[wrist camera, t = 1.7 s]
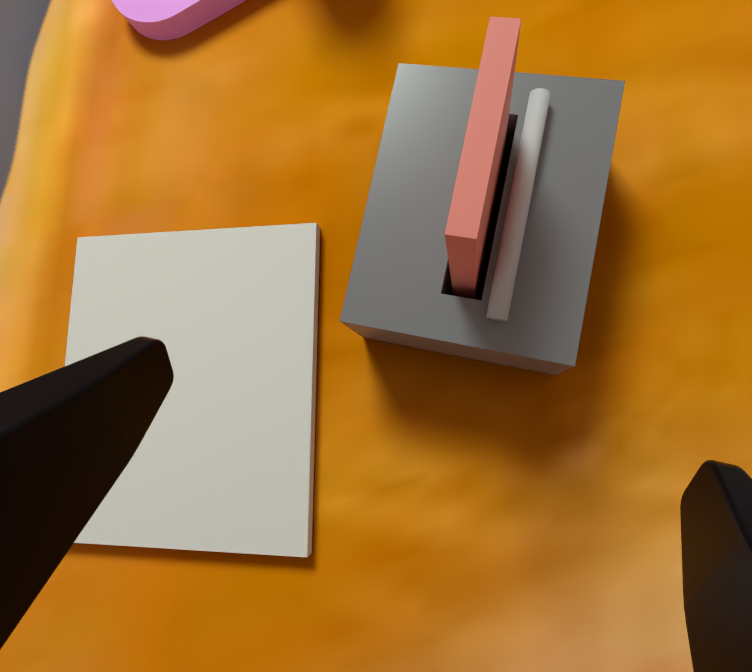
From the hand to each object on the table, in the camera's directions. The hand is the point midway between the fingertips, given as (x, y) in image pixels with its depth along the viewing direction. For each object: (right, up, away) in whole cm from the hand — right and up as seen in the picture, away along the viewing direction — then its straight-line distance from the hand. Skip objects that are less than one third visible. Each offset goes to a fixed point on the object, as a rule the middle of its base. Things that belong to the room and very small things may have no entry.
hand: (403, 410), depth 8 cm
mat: (-9, -1, +15) cm, 17 cm away
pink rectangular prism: (+4, +5, +13) cm, 15 cm away
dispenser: (+4, +5, +13) cm, 15 cm away
